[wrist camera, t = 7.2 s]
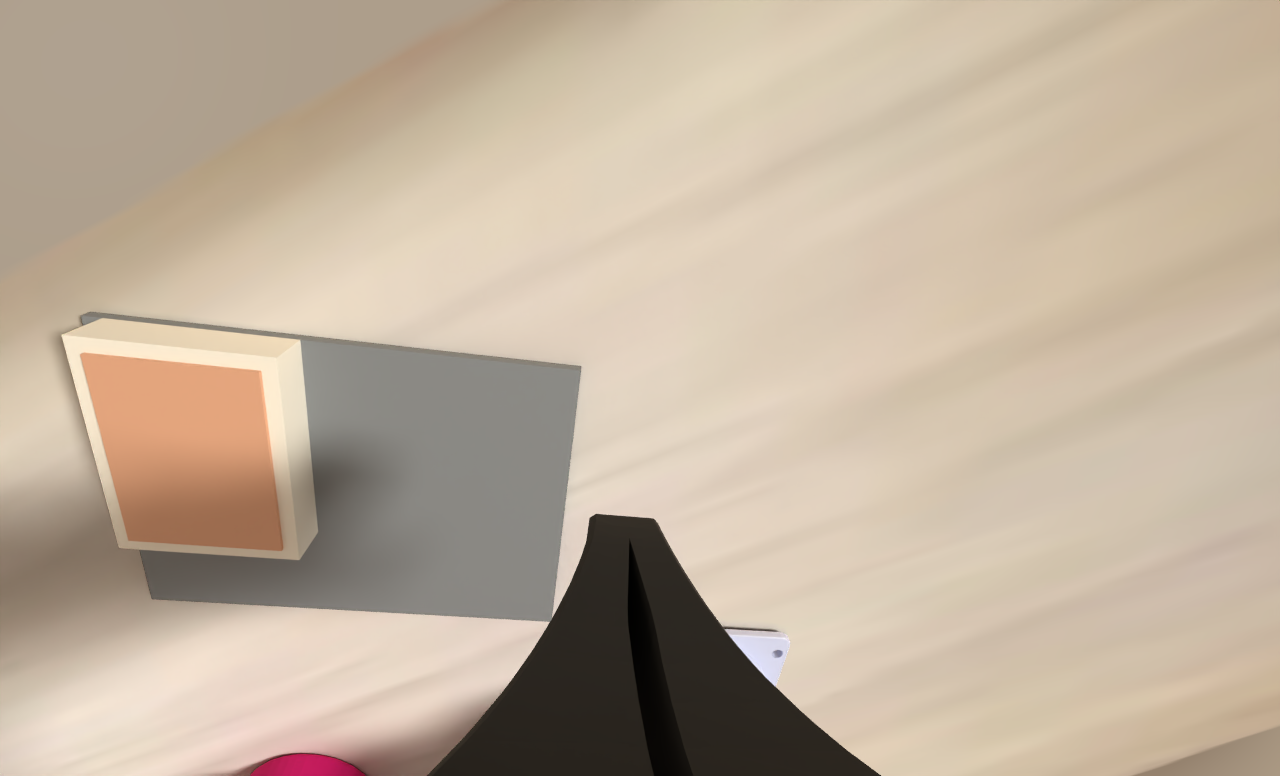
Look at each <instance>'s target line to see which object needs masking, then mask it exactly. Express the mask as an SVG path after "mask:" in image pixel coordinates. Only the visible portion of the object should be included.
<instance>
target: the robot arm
mask: <svg viewBox="0 0 1280 776" xmlns="http://www.w3.org/2000/svg"><path fill="white" fill-rule="evenodd" d="M789 647H790V641H789V638H788V636H787V635H786V634H785V633H782V632H770V631H752V630H735V629H724V628H723V627H722V626H721V624H720V623H719V621H718V620H717V619H716V617H715V616H714V615H713V613H712V612H711V611H710V609H709V608H708V606H707V605H706V604H705V602H704V601H703V599H702V598H701V596H700V595H699V593H698V592H697V590H696V589H695V587H694V586H693V584H692V583H691V581H690V579H689V578H688V576H687V575H686V573H685V572H684V570H683V568H682V567H681V565H680V563H679V562H678V560H677V558H676V556H675V555H674V553H673V551H672V549H671V548H670V546H669V544H668V542H667V540H666V539H665V537H664V535H663V533H662V531H661V529H660V527H659V525H658V523H657V522H656V521H655V520H654V519H652V518H640V517H627V516H615V515H602V514H595V515H594V516H592V517H591V518H590V519H589V526H588V534H587V541H586V544H585V547H584V550H583V553H582V556H581V559H580V561H579V564H578V566H577V569H576V571H575V573H574V576H573V578H572V581H571V583H570V585H569V587H568V589H567V591H566V593H565V595H564V597H563V599H562V601H561V603H560V605H559V607H558V609H557V611H556V612H555V614H554V616H553V618H552V620H551V621H550V623H549V625H548V626H547V628H546V630H545V631H544V633H543V635H542V636H541V638H540V640H539V641H538V643H537V644H536V646H535V647H534V649H533V650H532V652H531V653H530V655H529V656H528V658H527V659H526V661H525V662H524V663H523V665H522V666H521V668H520V669H519V671H518V672H517V673H516V675H515V676H514V678H513V679H512V680H511V682H510V683H509V684H508V686H507V687H506V688H505V689H504V691H503V692H502V693H501V695H500V696H499V697H498V698H497V699H496V701H495V702H494V703H493V704H492V705H491V707H490V708H489V709H488V710H487V711H486V713H485V714H484V715H483V716H482V717H481V719H480V720H479V721H478V722H477V723H476V725H475V726H474V727H473V728H472V729H471V730H470V731H469V733H468V734H467V735H466V736H465V737H464V738H463V739H462V740H461V741H460V742H459V743H458V744H457V745H456V746H455V748H454V749H453V750H452V751H451V752H450V753H449V754H448V755H447V756H446V757H445V758H444V759H443V760H442V761H441V762H440V763H439V764H438V765H437V766H436V767H435V768H434V769H433V770H432V771H431V772H430V773H429V774H428V775H427V776H881V775H879V774H878V773H877V772H875V771H874V770H873V769H871V768H870V767H869V766H867V765H866V764H865V763H863V762H862V761H861V760H859V759H858V758H857V757H855V756H854V755H852V754H851V753H850V752H848V751H847V750H846V749H845V748H843V747H842V746H841V745H840V744H839V743H837V742H836V741H835V740H834V739H833V738H831V737H830V736H829V735H828V734H827V733H825V732H824V731H823V730H822V729H821V728H819V727H818V726H817V725H816V724H815V723H814V722H812V721H811V720H810V719H809V718H808V717H807V716H806V715H805V714H803V713H802V712H801V711H800V710H799V709H798V708H797V707H796V706H795V705H794V704H793V703H792V702H791V701H790V700H789V699H788V698H787V697H785V696H784V695H783V694H782V693H781V692H780V691H779V690H778V689H777V688H776V684H777V681H778V679H779V676H780V673H781V670H782V667H783V664H784V661H785V659H786V656H787V653H788V650H789ZM775 650H777V651H775Z"/></svg>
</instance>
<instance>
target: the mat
mask: <svg viewBox="0 0 1280 776" xmlns="http://www.w3.org/2000/svg"><path fill="white" fill-rule="evenodd" d="M101 318H107V319H116V320H125V321H134V322H143V323H152V324H161V325H170V326H179V327H188V328H198V329H207V330H216V331H225V332H234V333H243V334H252V335H261V336H270V337H279V338H288V339H297V340H300V342H301V353H302V363H303V374H304V385H305V396H306V406H307V417H308V428H309V439H310V450H311V460H312V471H313V482H314V493H315V503H316V514H317V525H318V533H317V535H316V536H315V538H314V539H313V541H312V542H311V544H310V545H309V547H308V548H307V550H306V551H305V553H304V554H303V556H302V557H301V559H300V560H289V559H274V558H259V557H244V556H228V555H213V554H198V553H183V552H168V551H153V550H140V554H141V558H142V562H143V566H144V570H145V574H146V578H147V582H148V586H149V590H150V594H151V598H152V599H158V600H176V601H194V602H211V603H229V604H247V605H264V606H282V607H300V608H317V609H335V610H353V611H371V612H388V613H406V614H424V615H441V616H459V617H477V618H494V619H512V620H530V621H547V622H550V621H551V620H552V611H553V603H554V594H555V586H556V577H557V569H558V561H559V552H560V544H561V535H562V527H563V518H564V510H565V501H566V493H567V484H568V476H569V467H570V459H571V450H572V442H573V433H574V425H575V416H576V408H577V399H578V391H579V382H580V374H581V366H573V365H564V364H555V363H546V362H537V361H528V360H519V359H510V358H501V357H492V356H483V355H474V354H465V353H456V352H447V351H438V350H429V349H420V348H411V347H402V346H393V345H384V344H375V343H366V342H357V341H348V340H339V339H330V338H321V337H312V336H303V335H294V334H285V333H276V332H267V331H258V330H249V329H240V328H231V327H222V326H213V325H204V324H195V323H186V322H177V321H168V320H159V319H150V318H141V317H132V316H123V315H114V314H105V313H96V312H89V313H86V314H84V315H81V319H82V323H83V326H84V325H87V324H89V323H92V322H94V321H96V320H99V319H101Z"/></svg>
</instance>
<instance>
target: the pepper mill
mask: <svg viewBox="0 0 1280 776" xmlns="http://www.w3.org/2000/svg"><path fill="white" fill-rule="evenodd" d="M250 776H365V774H363V773H362V772H361V771H359V770H358V769H357V768H355V767H354V766H352V765H350V764H348V763H346V762H343V761H341V760H339V759H336V758H332V757H328V756H323V755H315V754H295V755H288V756H282V757H279V758H276V759H272V760H270V761H268V762H266V763H265V764H263V765H261V766H260V767H258V768H257V769H255V770H254V771H253V772H252V773H251V774H250Z"/></svg>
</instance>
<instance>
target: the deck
mask: <svg viewBox="0 0 1280 776" xmlns="http://www.w3.org/2000/svg"><path fill="white" fill-rule="evenodd" d="M62 339H63V343H64V346H65V350H66V354H67V358H68V361H69V365H70V369H71V372H72V376H73V380H74V384H75V387H76V391H77V395H78V398H79V402H80V406H81V410H82V413H83V417H84V421H85V424H86V428H87V432H88V436H89V439H90V443H91V447H92V450H93V454H94V458H95V462H96V465H97V469H98V473H99V476H100V480H101V484H102V488H103V491H104V495H105V499H106V503H107V506H108V510H109V514H110V517H111V521H112V525H113V529H114V532H115V536H116V540H117V543H118V547H119V548H122V549H138V550H153V551H168V552H183V553H198V554H213V555H228V556H244V557H259V558H274V559H289V560H300V559H301V557H302V556H303V554H304V553H305V551H306V550H307V548H308V547H309V545H310V544H311V542H312V541H313V539H314V538H315V536H316V535H317V533H318V525H317V514H316V503H315V493H314V482H313V471H312V460H311V450H310V439H309V428H308V417H307V406H306V396H305V385H304V374H303V363H302V353H301V342H300V340H297V339H288V338H279V337H270V336H261V335H252V334H243V333H234V332H225V331H216V330H207V329H198V328H188V327H179V326H170V325H161V324H152V323H143V322H134V321H125V320H116V319H107V318H101V319H99V320H96V321H94V322H92V323H89V324H87V325H84V326H82V327H79V328H77V329H74V330H72V331H70V332H67V333H65V334H62Z"/></svg>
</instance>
